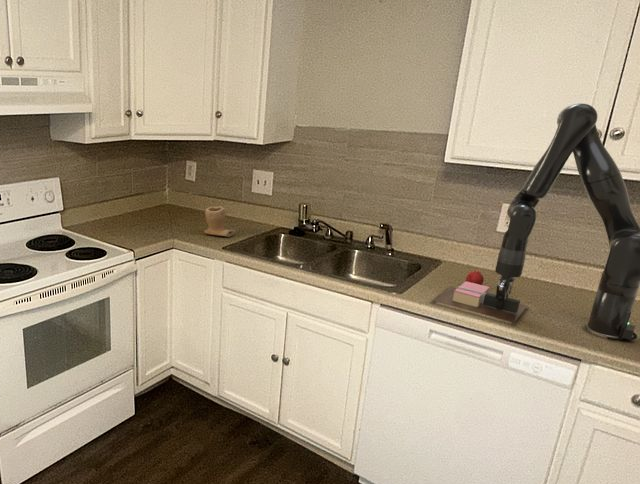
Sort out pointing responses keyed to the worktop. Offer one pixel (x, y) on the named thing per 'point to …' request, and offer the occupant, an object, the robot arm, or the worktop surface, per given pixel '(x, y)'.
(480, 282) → the onion
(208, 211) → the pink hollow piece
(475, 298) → the pink and tan block
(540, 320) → the worktop surface
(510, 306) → the knife
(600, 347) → the worktop surface
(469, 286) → the cake
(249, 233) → the worktop surface
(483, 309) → the cake board
